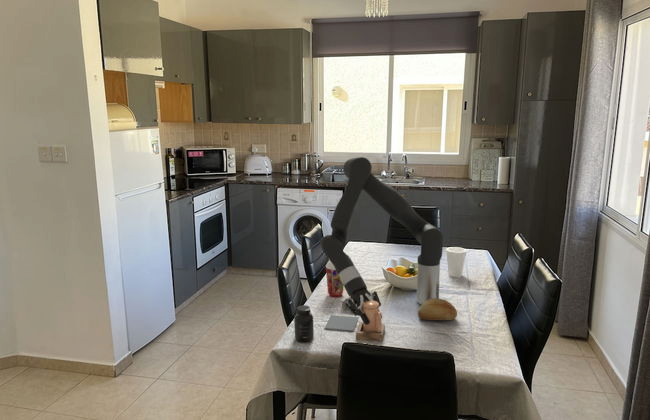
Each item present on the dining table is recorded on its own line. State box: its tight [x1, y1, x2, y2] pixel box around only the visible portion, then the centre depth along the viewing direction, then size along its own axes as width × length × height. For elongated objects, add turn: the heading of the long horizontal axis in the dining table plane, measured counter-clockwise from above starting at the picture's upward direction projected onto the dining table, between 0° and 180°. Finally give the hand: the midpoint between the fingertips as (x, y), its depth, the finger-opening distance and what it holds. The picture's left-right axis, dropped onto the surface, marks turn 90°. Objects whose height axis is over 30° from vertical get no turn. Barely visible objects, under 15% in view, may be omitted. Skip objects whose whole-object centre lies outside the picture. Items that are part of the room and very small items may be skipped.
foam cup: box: [445, 246, 467, 278], centre depth 235 cm, size 10×9×13 cm
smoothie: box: [325, 259, 345, 299], centre depth 210 cm, size 8×8×20 cm
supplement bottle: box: [293, 304, 315, 344], centre depth 170 cm, size 7×7×12 cm
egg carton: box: [340, 296, 356, 311], centre depth 197 cm, size 11×8×4 cm
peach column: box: [362, 301, 382, 333], centre depth 172 cm, size 8×6×12 cm
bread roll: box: [417, 298, 458, 321], centre depth 186 cm, size 10×15×8 cm, turn 85°
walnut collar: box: [355, 321, 386, 342], centre depth 174 cm, size 9×9×2 cm
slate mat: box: [324, 314, 359, 333], centre depth 183 cm, size 11×12×1 cm
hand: (374, 321), depth 172 cm, fingers closed on peach column, 5 cm apart
